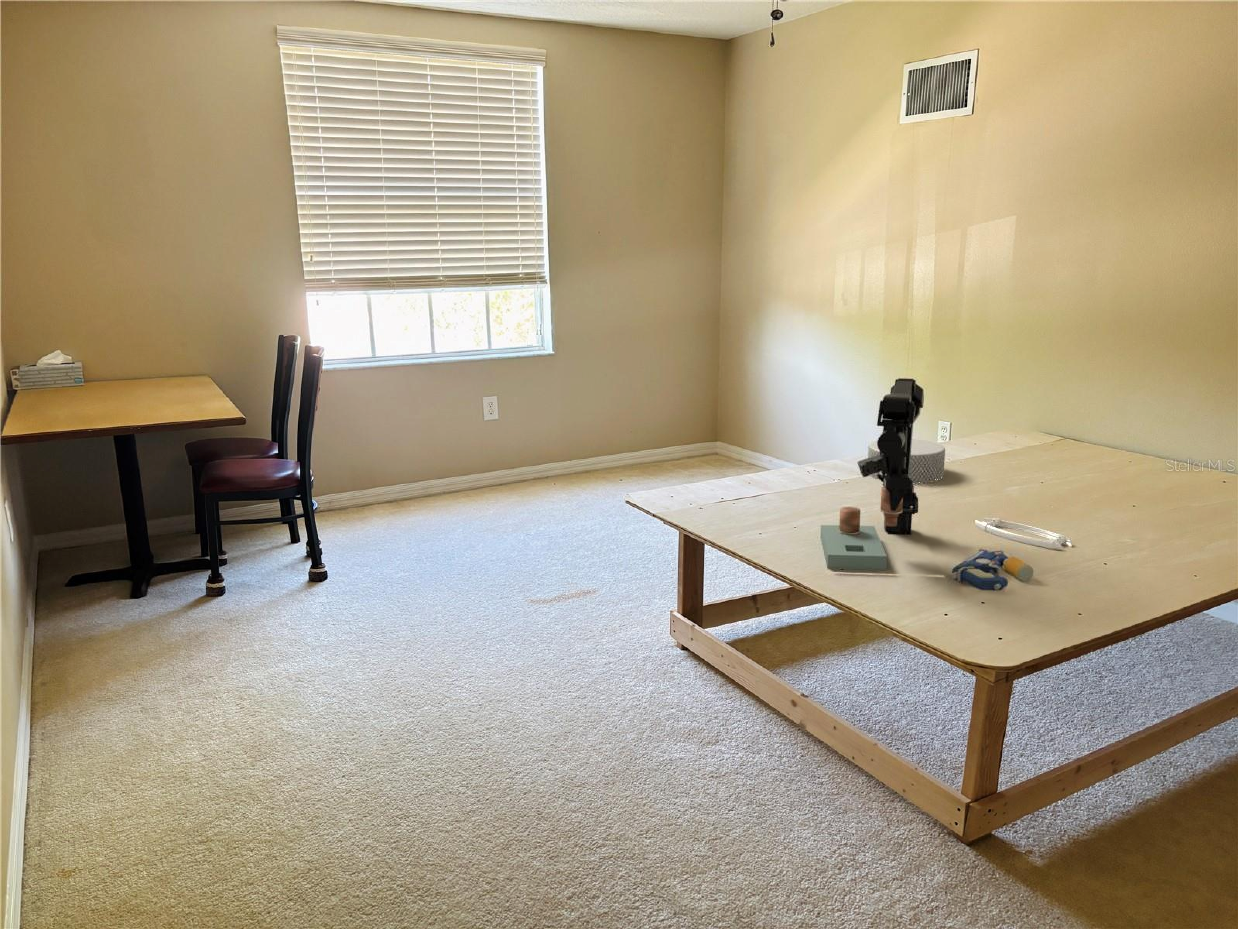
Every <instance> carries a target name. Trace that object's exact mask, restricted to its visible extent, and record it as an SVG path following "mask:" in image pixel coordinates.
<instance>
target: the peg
mask: <svg viewBox="0 0 1238 929" xmlns="http://www.w3.org/2000/svg"><path fill="white" fill-rule="evenodd" d="M880 494H881V495H880V508H879V511H880V513H883V517H884V516H885V522H884V521H883V526H884V525H886V526H897V517H898V516H899V514H900V513H902V505H903V498H902V500H901V502H900V504H899V505H898V507H897V509H896V511H891V508H890V500H889V493H888V490H887V489H885V488H884V486H883V485H882V487H881V492H880Z"/></svg>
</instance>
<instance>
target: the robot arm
mask: <svg viewBox="0 0 1238 929" xmlns="http://www.w3.org/2000/svg"><path fill="white" fill-rule="evenodd" d="M924 399H925V393H924V389H923V387H921V386H920V385H918V384H917V380H916V379H914V378H906V377H905V378H903V377H902V378H901V377H898V378H896V379H895V382H894V385H893V386H891V388H890V393H888V394H885V395H884V396H883V398H882V400H880V401H879V406H878V413H877V422H876V426H877V427H882V433H881V434H880V436H878V438H877V440H876V441H877V446H878V449H879V455H877V456H873V457H870V458H868V457H867V458H865V459H861V460H858V461H857V466H858V469H859V471H860V475H861V476H862V477H863V478H867V477H870V475H871V474H874V473H879V471H880V474H878V475H877V476H878V478H879V479H880V480H879V479H878V480H879V481H881V482H882V487H883V486H884V488H885V489H887V490H888V493H889V500H890V508H891V511H896V509H897V507H898V505H899V504H900V502H901V500H902V498H903V505H902V513H900V514H899V516H898V517H897V526H886V525H884V524H883V529H884V531H885V532H886V533H887V535H898V536H899V535H904V536H905V535H906V536H907V535H908V536H913V532H912V522H913V521H912V520H913V515H915V514H918V513H919V498H918V496H917V492H915V485H914V484H913V481H912V479H911V478H910V477H909V471H910V458H911V446H912V439H913V432H914V431H913V430H914V423H915V422H916V420H917V419H918V418H919V416H920V415H921V409H923V408H924V401H925V400H924ZM883 517H884V520H883V523H884V522H885V516H884V515H883Z"/></svg>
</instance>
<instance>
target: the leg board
mask: <svg viewBox="0 0 1238 929" xmlns="http://www.w3.org/2000/svg"><path fill="white" fill-rule="evenodd" d="M820 542H821V546H822V551H823V555H824V560H825V563H826V568H827V569H836V570H837V569H839V570H840V569H841V570H842V569H843V570H873V571H875V570H877V571H880V570H881V571H887V563H888V562H887V561H888V558H887V557H888V555H887V553H886V551H885V548H884V546H883V543H882V541H881V539H880V536H879V534H878V532H877V529H876V527H875V525H860V532H859V533H858V534H855V535H847V534H842V533H840V532H839V524H837V525H836V524H835V525H834V524H820Z"/></svg>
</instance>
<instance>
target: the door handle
mask: <svg viewBox="0 0 1238 929" xmlns="http://www.w3.org/2000/svg"><path fill="white" fill-rule="evenodd" d="M974 525H975V527H976V528H977V527H978V529H979V530H981V531H983V532H987V533H989V534H993V535H995V536H997V537H1000V538H1003V539H1007V540H1009V541H1014V542H1018V543H1021V544H1027V545H1030V546H1035V547H1040V548H1044V549H1048V550H1054V551H1055V550H1056V551H1062V552H1063V551H1065V550H1064V547H1063V546H1064V545H1065V546H1068V547H1070V548H1072V547H1073V546H1074V545H1073V541H1072V539H1070V538H1069V537H1068V536H1066V535H1064V534H1058V533H1055V532H1053V531H1049V530H1045V529H1042V528H1038V527H1035V526H1032V525H1031V526H1030V525H1027V524H1023V523H1018V522H1015V521H1014V522H1013V521H1010V520H1009V521H1007V520H1002V519H1001V518H997V517H992V518H990V517H983V521H979V520H977V519H976V520H975V521H974ZM999 526H1000V528H1005V527H1008V528H1007V529H1010V528H1012V529H1011V530H1015V531H1020V532H1023V531H1024V533H1028V534H1031V535H1035V536H1040V537H1043V538H1046V539H1040V538H1036V537H1030V536H1027V535H1021V534H1019V533H1014V532H1010V531H1007V530H1004V529H1000V528H999ZM1062 545H1063V546H1062Z"/></svg>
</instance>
